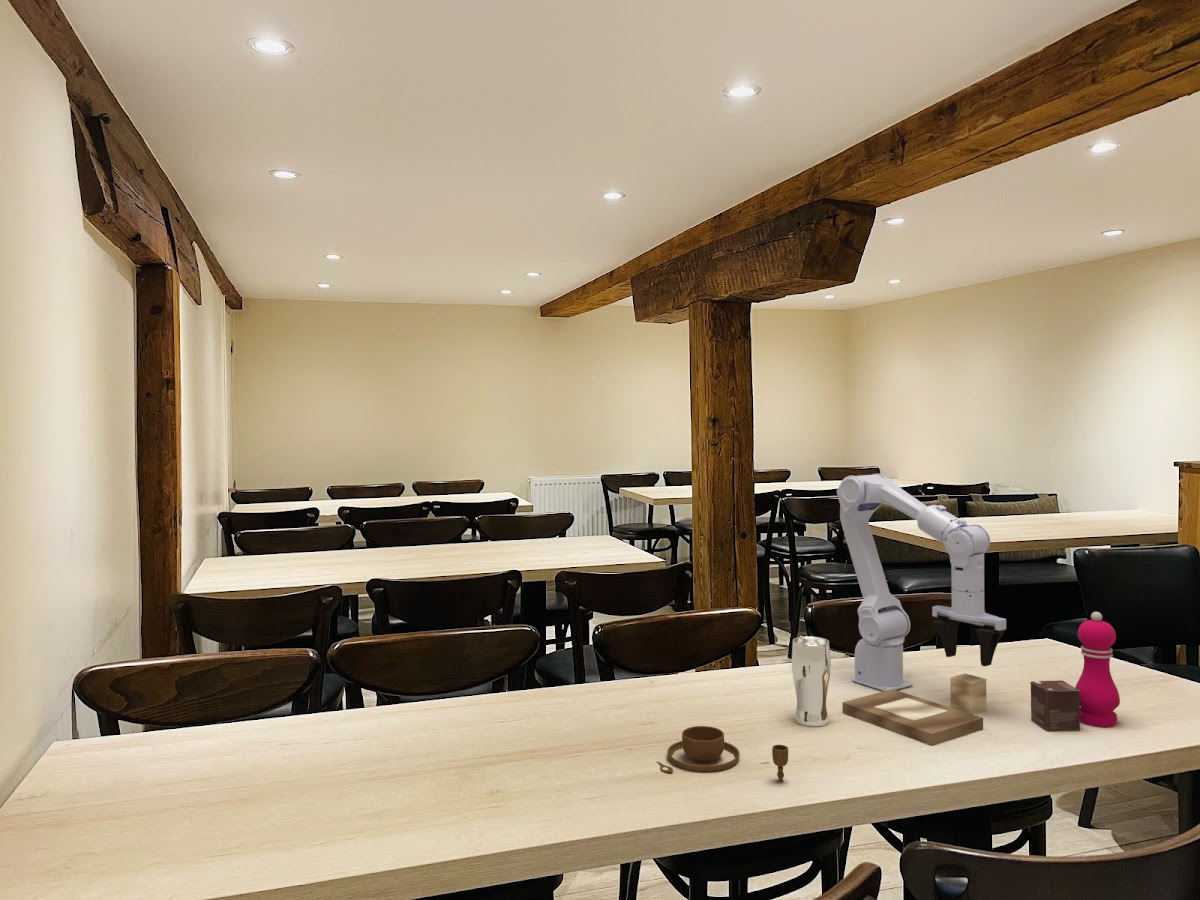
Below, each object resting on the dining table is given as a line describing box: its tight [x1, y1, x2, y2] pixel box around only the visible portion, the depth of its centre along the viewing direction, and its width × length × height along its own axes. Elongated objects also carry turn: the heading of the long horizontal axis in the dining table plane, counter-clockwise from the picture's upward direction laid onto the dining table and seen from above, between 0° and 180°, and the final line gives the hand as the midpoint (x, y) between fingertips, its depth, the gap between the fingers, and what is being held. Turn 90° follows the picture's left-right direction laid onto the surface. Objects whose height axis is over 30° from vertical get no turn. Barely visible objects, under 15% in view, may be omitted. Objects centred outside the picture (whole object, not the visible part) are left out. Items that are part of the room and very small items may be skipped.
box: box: [1030, 680, 1081, 732], centre depth 155 cm, size 6×6×7 cm
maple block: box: [949, 673, 987, 715], centre depth 164 cm, size 4×4×6 cm
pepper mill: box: [1074, 611, 1121, 728], centre depth 156 cm, size 7×7×20 cm
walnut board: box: [841, 689, 984, 746], centre depth 158 cm, size 20×14×2 cm
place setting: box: [656, 725, 789, 783], centre depth 139 cm, size 18×20×6 cm
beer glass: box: [791, 635, 832, 728], centre depth 159 cm, size 7×7×15 cm
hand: (968, 660), depth 164 cm, fingers open, 7 cm apart
